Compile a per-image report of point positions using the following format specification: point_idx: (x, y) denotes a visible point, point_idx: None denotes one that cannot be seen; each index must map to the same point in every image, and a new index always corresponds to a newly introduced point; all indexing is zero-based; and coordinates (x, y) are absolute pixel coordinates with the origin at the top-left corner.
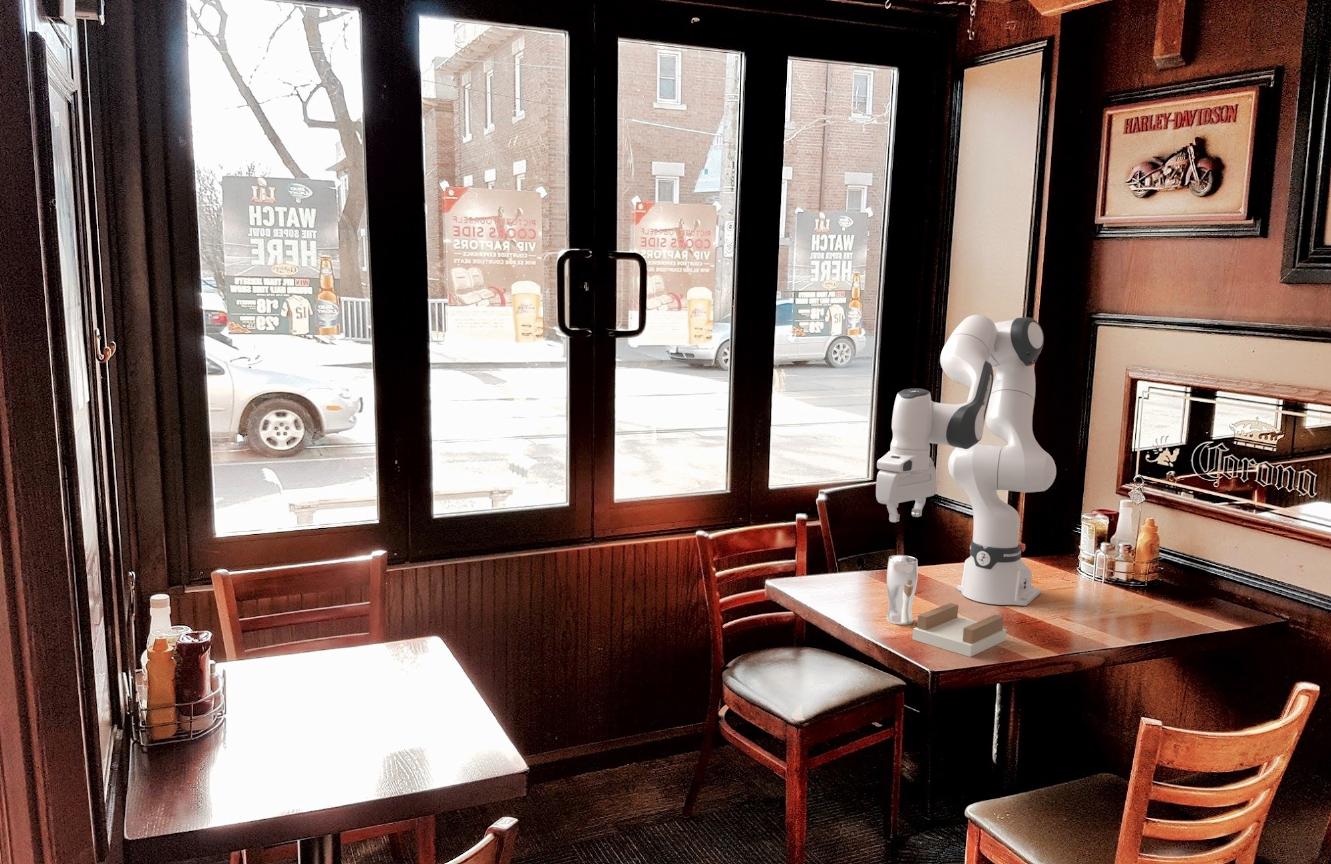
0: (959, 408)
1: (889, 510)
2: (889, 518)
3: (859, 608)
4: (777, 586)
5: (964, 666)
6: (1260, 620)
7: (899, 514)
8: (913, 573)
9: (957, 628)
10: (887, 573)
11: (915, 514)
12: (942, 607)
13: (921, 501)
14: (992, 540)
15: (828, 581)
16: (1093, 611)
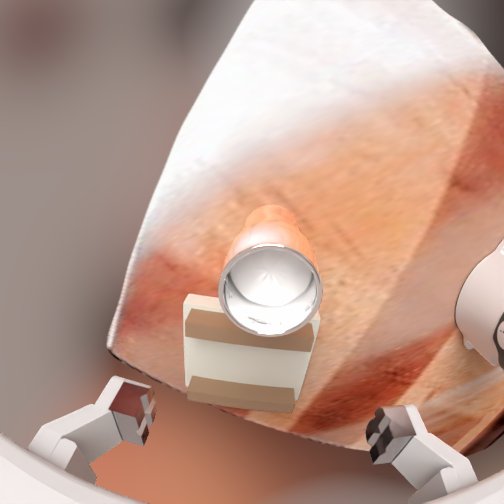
0: None
1: (70, 422)
2: (109, 383)
3: (289, 127)
4: None
5: (154, 375)
6: (470, 453)
7: (142, 444)
8: (255, 316)
9: (245, 355)
10: (239, 236)
11: (377, 427)
12: (270, 338)
13: (411, 497)
14: None
15: (406, 13)
16: (466, 395)
